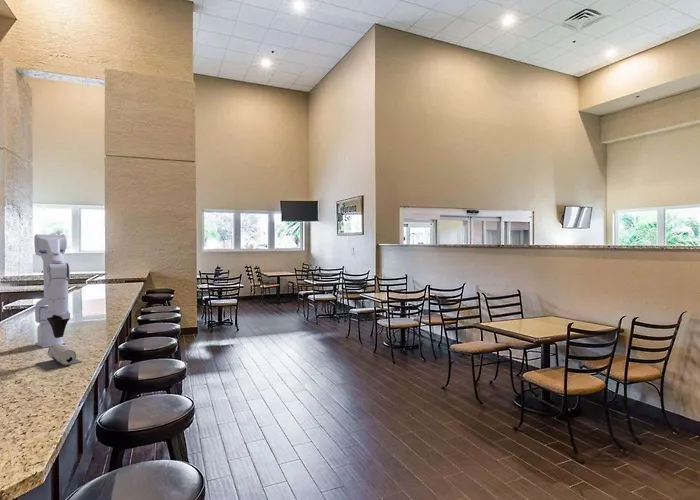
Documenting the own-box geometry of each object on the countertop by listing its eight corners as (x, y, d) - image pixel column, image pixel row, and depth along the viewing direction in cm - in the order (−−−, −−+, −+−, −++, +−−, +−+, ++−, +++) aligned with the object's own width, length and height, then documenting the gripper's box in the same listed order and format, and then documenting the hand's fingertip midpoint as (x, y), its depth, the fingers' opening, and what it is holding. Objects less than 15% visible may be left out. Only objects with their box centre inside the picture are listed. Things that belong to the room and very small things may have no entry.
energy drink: (53, 361, 139) (64, 368, 132) (43, 350, 137) (54, 356, 129) (69, 351, 143) (80, 357, 135) (60, 339, 140) (71, 345, 133)
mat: (35, 364, 134) (35, 363, 134) (70, 357, 142) (70, 356, 142) (46, 369, 128) (46, 368, 128) (82, 362, 137) (81, 361, 137)
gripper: (36, 297, 140) (37, 336, 140) (52, 301, 131) (53, 342, 132) (60, 295, 145) (60, 332, 146) (76, 299, 137) (77, 338, 137)
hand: (58, 337), depth 139 cm, fingers closed
